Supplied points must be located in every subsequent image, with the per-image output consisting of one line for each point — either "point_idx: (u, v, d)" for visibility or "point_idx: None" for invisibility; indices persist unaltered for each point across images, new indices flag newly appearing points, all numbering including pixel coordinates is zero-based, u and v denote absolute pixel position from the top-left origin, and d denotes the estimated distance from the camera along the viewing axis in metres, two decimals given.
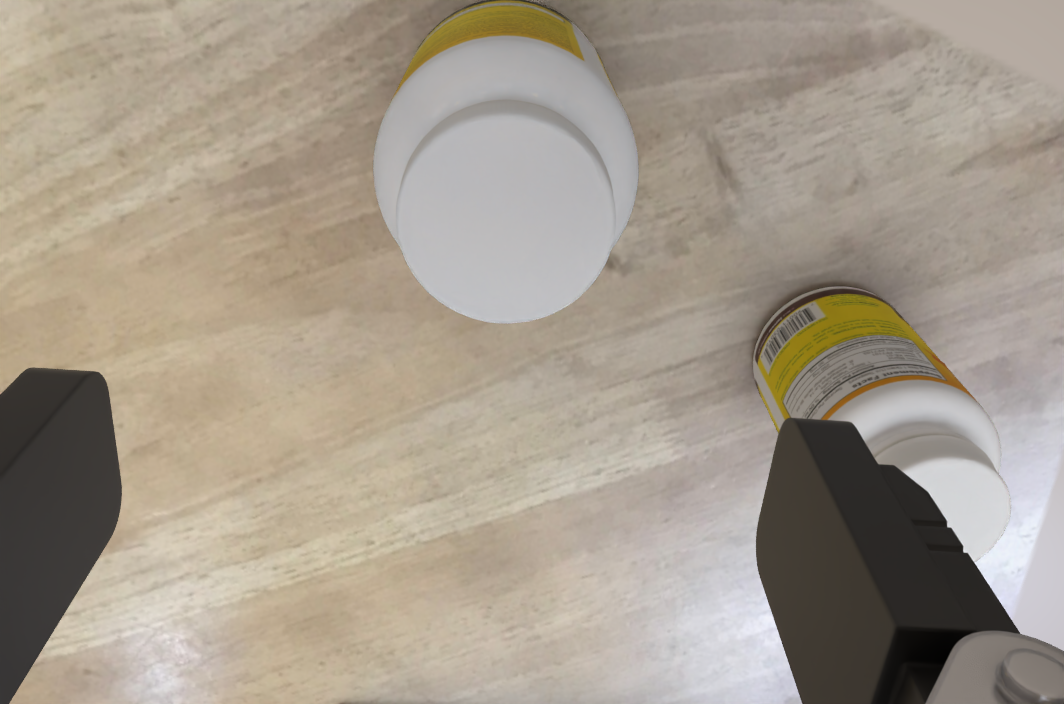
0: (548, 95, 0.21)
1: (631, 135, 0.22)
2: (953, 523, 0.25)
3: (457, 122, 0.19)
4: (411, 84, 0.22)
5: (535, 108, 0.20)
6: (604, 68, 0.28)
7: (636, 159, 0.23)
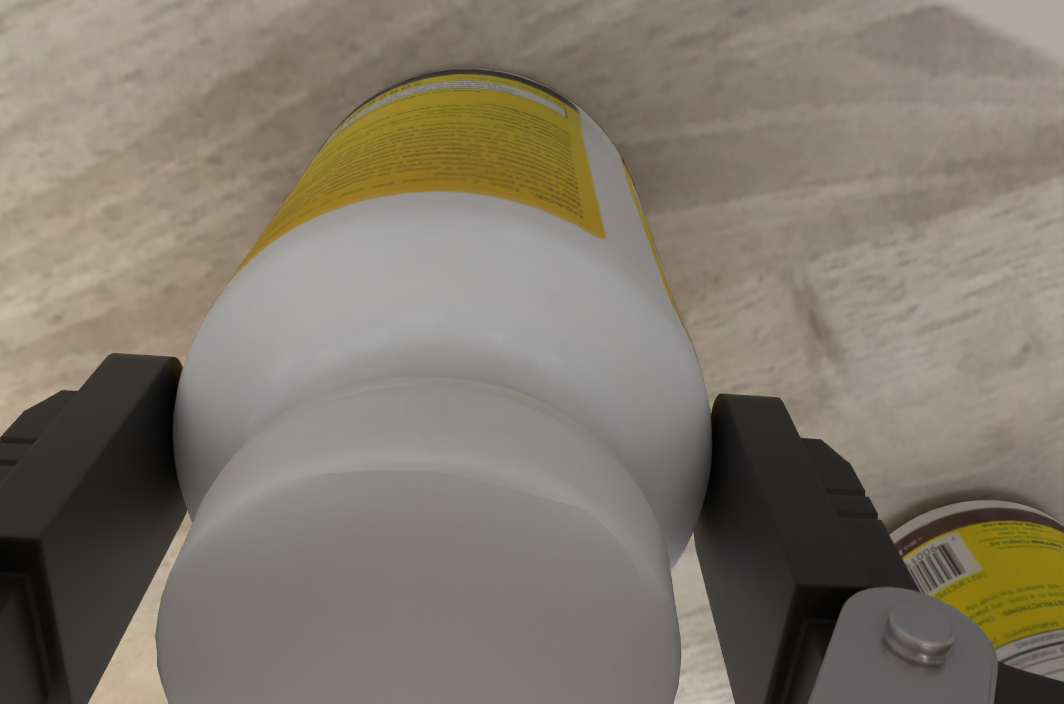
0: (527, 337, 0.10)
1: (701, 392, 0.11)
2: None
3: (289, 466, 0.08)
4: (233, 300, 0.10)
5: (490, 412, 0.08)
6: (634, 190, 0.16)
7: (710, 436, 0.11)
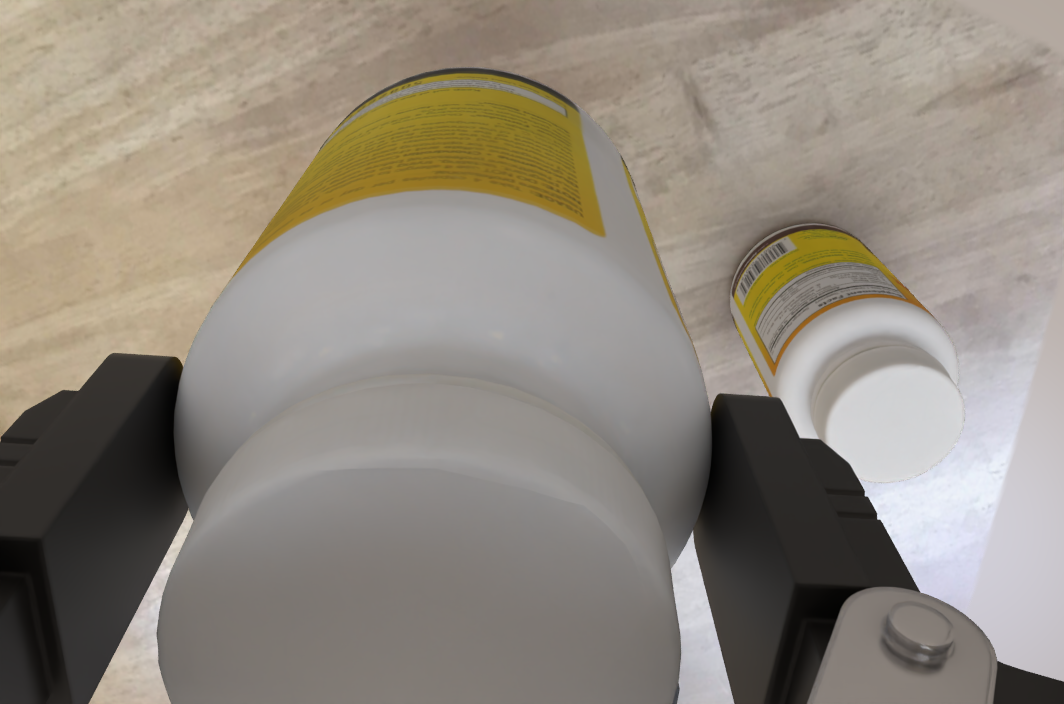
0: (528, 335, 0.10)
1: (701, 390, 0.11)
2: (911, 429, 0.27)
3: (290, 463, 0.08)
4: (235, 298, 0.10)
5: (490, 409, 0.08)
6: (634, 189, 0.16)
7: (709, 434, 0.11)
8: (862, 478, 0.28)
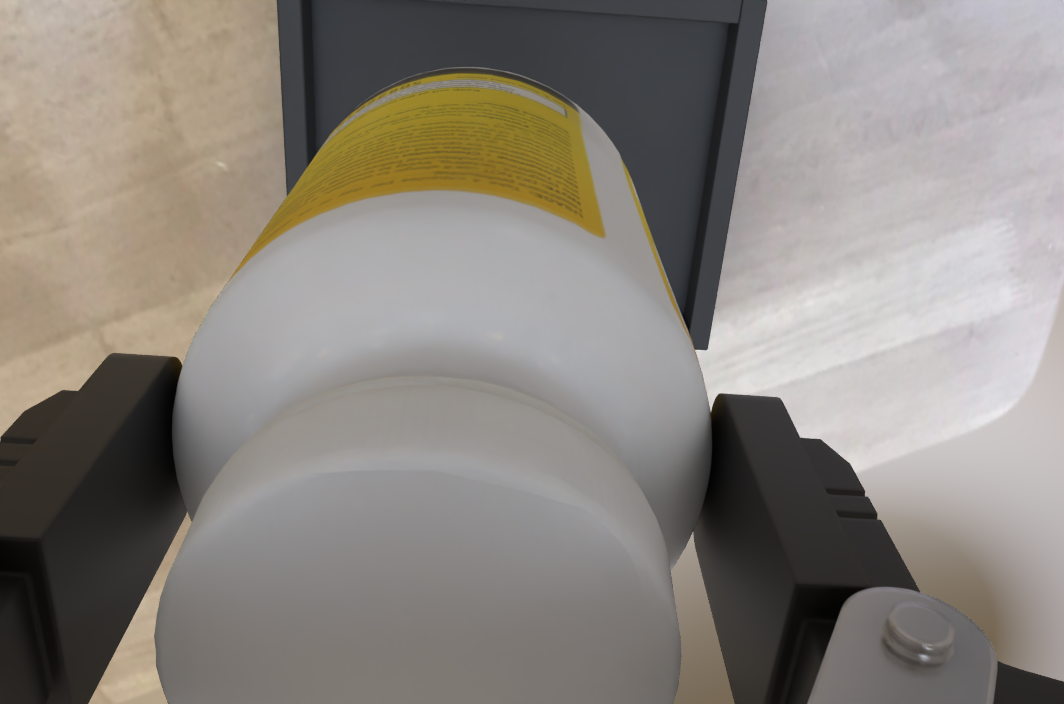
0: (527, 337, 0.10)
1: (701, 392, 0.11)
2: None
3: (288, 465, 0.08)
4: (234, 299, 0.10)
5: (489, 411, 0.08)
6: (634, 189, 0.16)
7: (710, 435, 0.11)
8: None
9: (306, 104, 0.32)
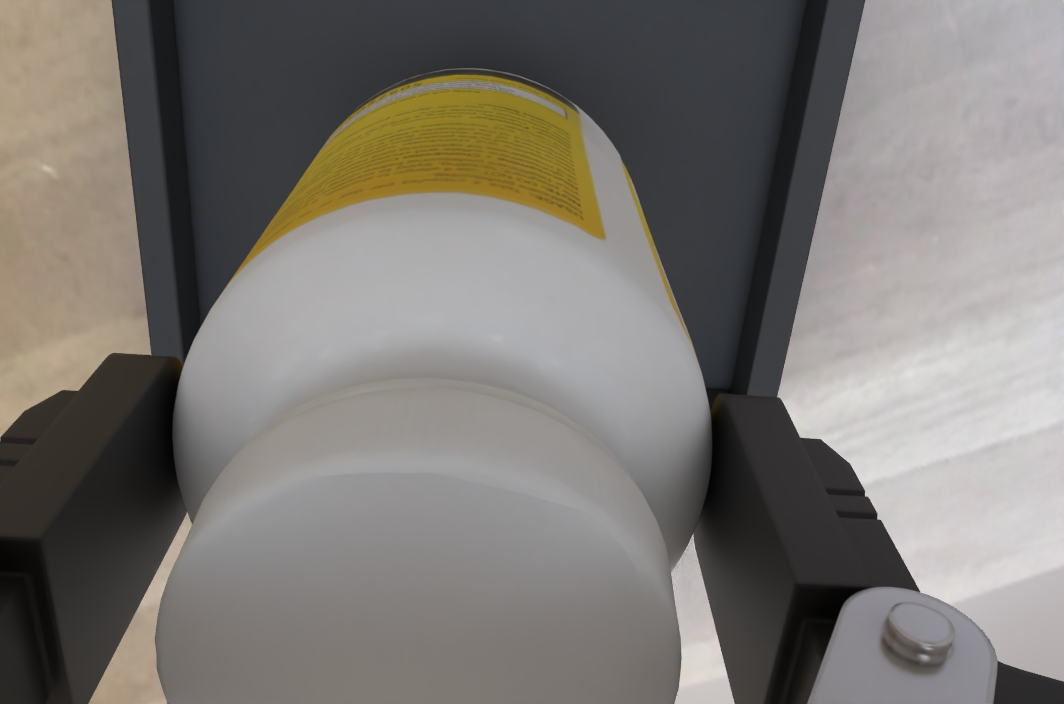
0: (527, 339, 0.10)
1: (701, 393, 0.11)
2: None
3: (289, 467, 0.08)
4: (234, 300, 0.10)
5: (489, 413, 0.08)
6: (634, 191, 0.16)
7: (710, 437, 0.11)
8: None
9: (158, 76, 0.21)
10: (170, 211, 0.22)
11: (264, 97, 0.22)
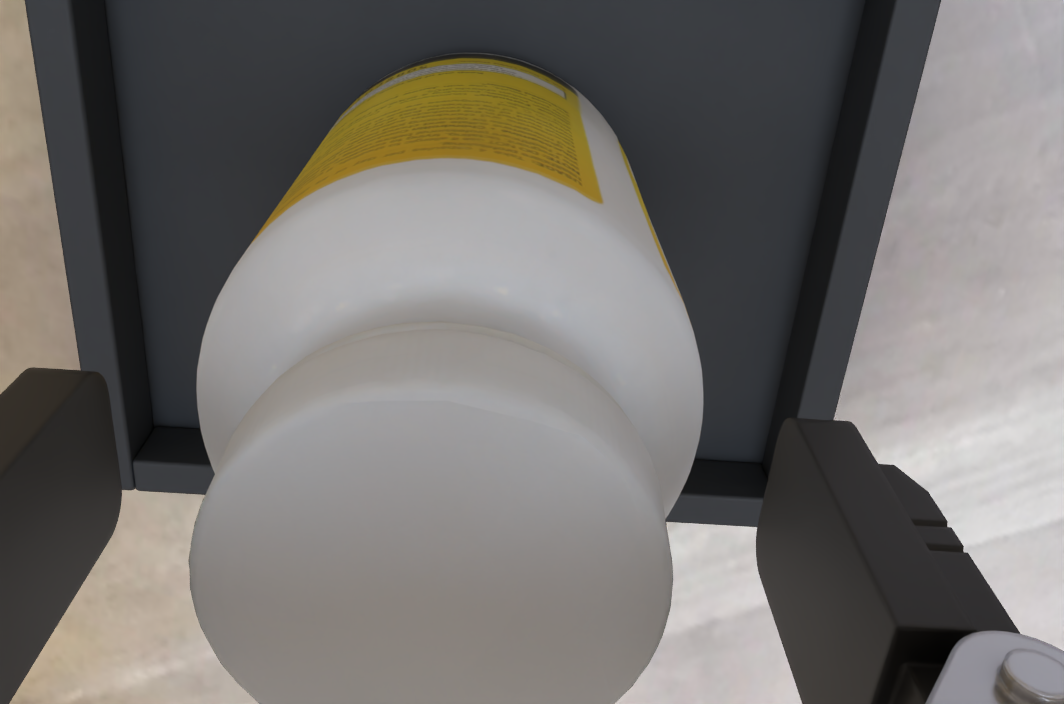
0: (531, 291, 0.10)
1: (693, 348, 0.12)
2: None
3: (314, 398, 0.08)
4: (256, 258, 0.11)
5: (496, 352, 0.09)
6: (631, 169, 0.17)
7: (701, 390, 0.12)
8: None
9: (87, 109, 0.17)
10: (107, 266, 0.18)
11: (218, 131, 0.19)
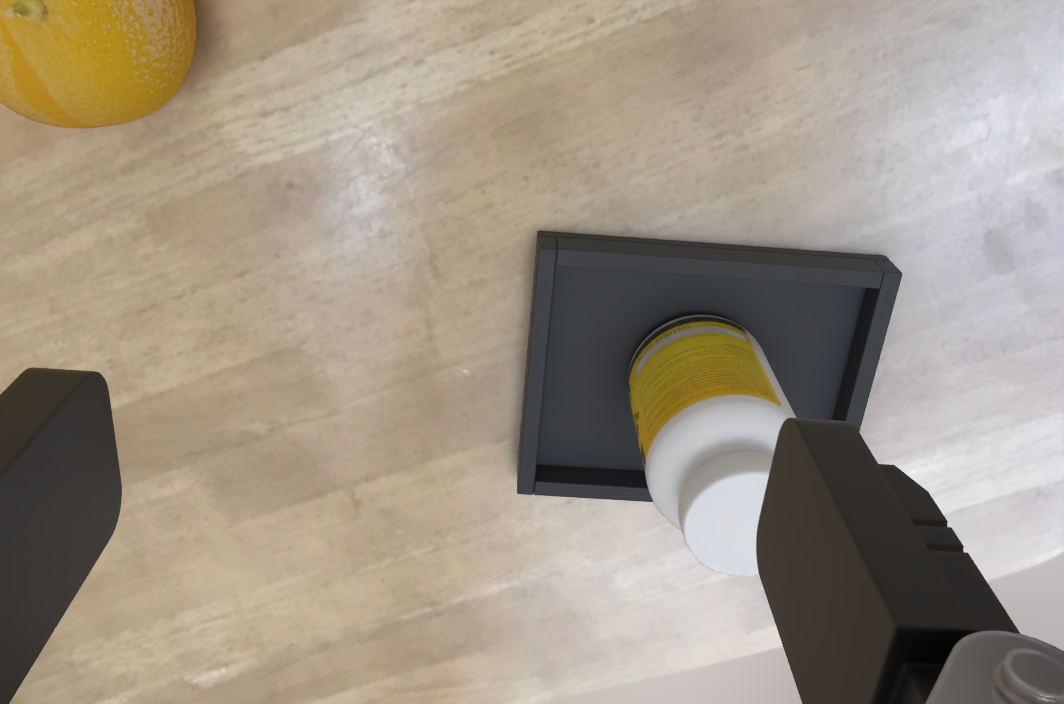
0: (766, 438, 0.35)
1: None
2: None
3: (726, 474, 0.33)
4: (680, 426, 0.36)
5: (768, 461, 0.34)
6: None
7: None
8: None
9: (548, 340, 0.42)
10: (542, 399, 0.43)
11: (588, 341, 0.44)
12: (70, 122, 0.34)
